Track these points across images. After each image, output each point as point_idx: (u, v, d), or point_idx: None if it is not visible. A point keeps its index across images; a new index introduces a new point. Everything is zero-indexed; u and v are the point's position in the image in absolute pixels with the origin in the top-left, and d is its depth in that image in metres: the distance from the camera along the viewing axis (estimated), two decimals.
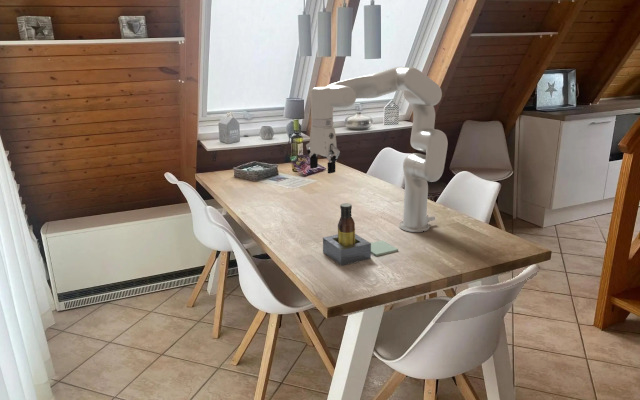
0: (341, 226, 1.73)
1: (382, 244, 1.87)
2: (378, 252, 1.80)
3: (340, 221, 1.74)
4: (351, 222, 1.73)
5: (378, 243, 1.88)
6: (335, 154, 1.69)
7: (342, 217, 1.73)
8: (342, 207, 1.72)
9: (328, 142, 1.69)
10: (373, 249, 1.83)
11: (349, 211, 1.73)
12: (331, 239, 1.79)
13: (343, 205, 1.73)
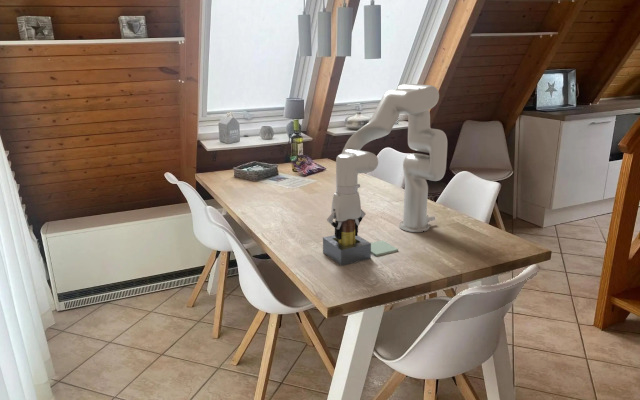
0: (341, 226, 1.74)
1: (382, 244, 1.87)
2: (378, 252, 1.80)
3: None
4: (351, 222, 1.73)
5: (378, 243, 1.88)
6: (362, 216, 1.78)
7: None
8: None
9: None
10: (373, 249, 1.83)
11: None
12: (331, 239, 1.79)
13: None
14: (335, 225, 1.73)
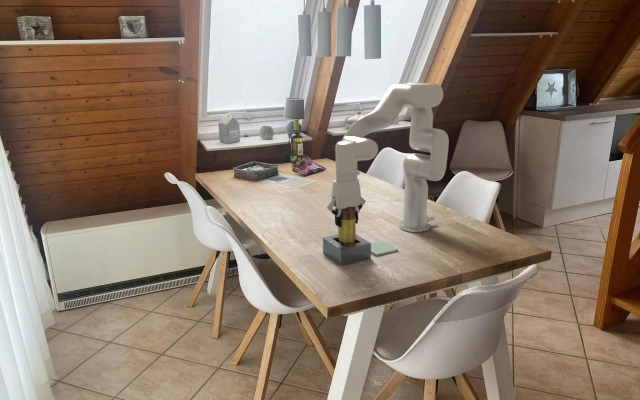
0: (341, 213, 1.73)
1: (382, 244, 1.87)
2: (378, 252, 1.80)
3: None
4: (351, 209, 1.73)
5: (378, 243, 1.88)
6: (362, 203, 1.77)
7: None
8: None
9: None
10: (373, 249, 1.83)
11: None
12: (331, 239, 1.79)
13: None
14: (335, 213, 1.72)
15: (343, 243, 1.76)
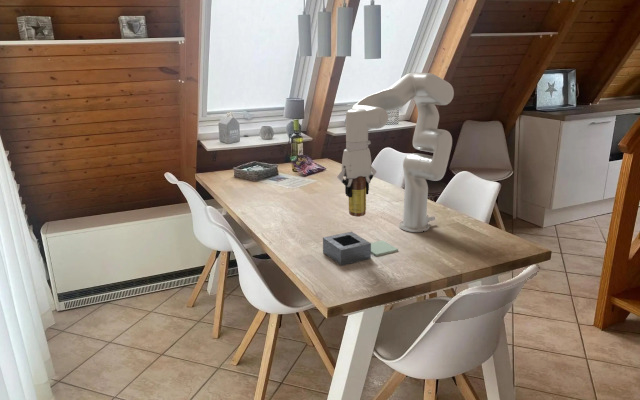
0: (352, 183, 1.71)
1: (382, 244, 1.87)
2: (378, 252, 1.80)
3: None
4: (362, 179, 1.71)
5: (378, 243, 1.88)
6: (373, 173, 1.75)
7: None
8: None
9: None
10: (373, 249, 1.83)
11: None
12: (331, 239, 1.79)
13: None
14: (346, 182, 1.70)
15: (353, 214, 1.74)
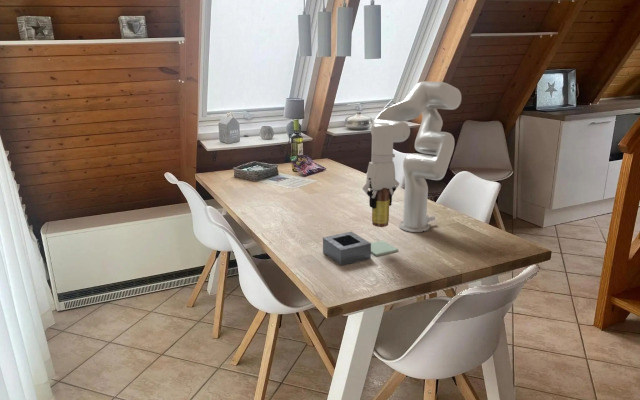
0: (376, 195, 1.76)
1: (382, 244, 1.87)
2: (378, 252, 1.80)
3: None
4: (386, 191, 1.76)
5: (378, 243, 1.88)
6: (396, 186, 1.80)
7: None
8: None
9: None
10: (373, 249, 1.83)
11: None
12: (331, 239, 1.79)
13: None
14: (370, 194, 1.75)
15: (377, 224, 1.79)
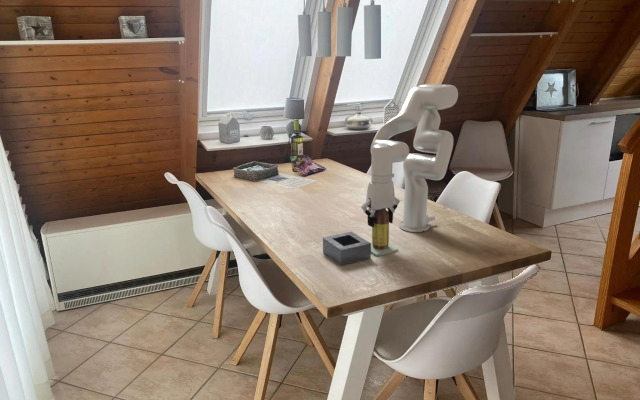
0: (376, 218, 1.79)
1: None
2: (378, 252, 1.80)
3: (375, 213, 1.79)
4: (386, 214, 1.79)
5: None
6: (397, 203, 1.82)
7: None
8: None
9: None
10: (373, 249, 1.83)
11: None
12: (331, 239, 1.79)
13: None
14: (369, 212, 1.77)
15: (377, 246, 1.82)
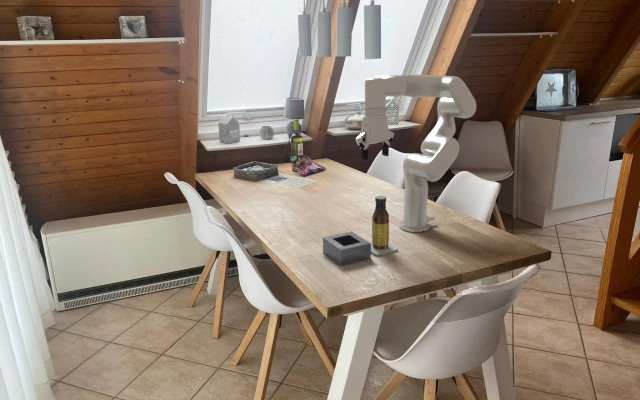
0: (376, 218, 1.79)
1: None
2: (378, 252, 1.80)
3: (375, 213, 1.79)
4: (386, 214, 1.79)
5: None
6: (392, 136, 1.86)
7: (377, 209, 1.79)
8: (377, 199, 1.77)
9: None
10: (373, 249, 1.83)
11: (384, 203, 1.78)
12: (331, 239, 1.79)
13: (378, 197, 1.78)
14: (363, 145, 1.79)
15: (377, 246, 1.82)
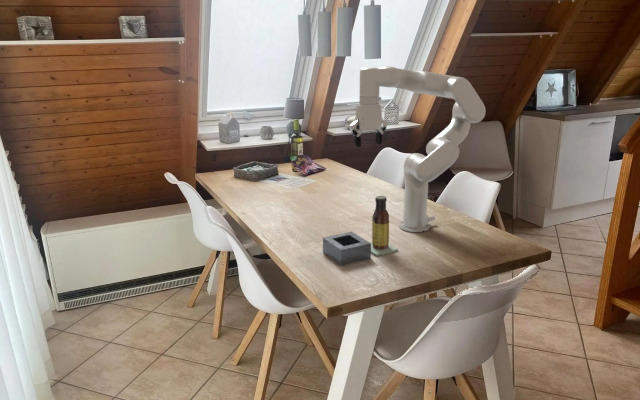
0: (376, 218, 1.79)
1: None
2: (378, 252, 1.80)
3: (375, 213, 1.79)
4: (386, 214, 1.79)
5: None
6: (385, 125, 1.93)
7: (377, 209, 1.79)
8: (377, 199, 1.77)
9: None
10: (373, 249, 1.83)
11: (384, 203, 1.78)
12: (331, 239, 1.79)
13: (378, 197, 1.78)
14: (356, 132, 1.87)
15: (377, 246, 1.82)
